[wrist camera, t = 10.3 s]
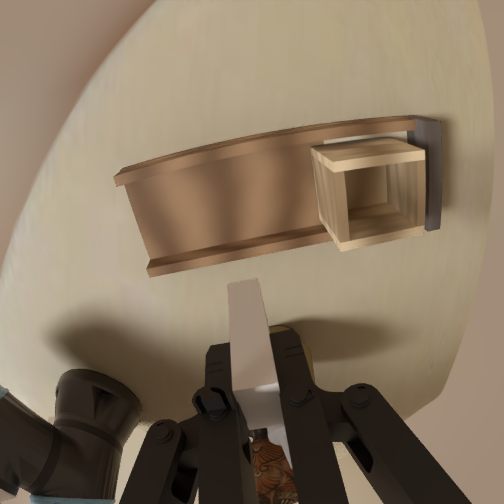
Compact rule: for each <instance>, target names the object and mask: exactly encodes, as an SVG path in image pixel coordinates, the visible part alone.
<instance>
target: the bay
mask: <svg viewBox="0 0 504 504" xmlns="http://www.w3.org/2000/svg"><path fill="white" fill-rule="evenodd" d="M386 136H387V137H390V138H393V139H396V140H399V141H402V142H405V143H407V144H410V145H413V146H415V147H418V148H421V149H423V150H425V172H426V198H425V228H424V229H425V230H427V231H432V230H437V229H440V222H441V203H442V140H441V121H438V120H434V119H429V118H425V117H420V116H415V115H408V116H393V117H380V118H369V119H359V120H349V121H341V122H332V123H325V124H317V125H310V126H304V127H297V128H291V129H285V130H279V131H273V132H268V133H262V134H257V135H252V136H247V137H242V138H237V139H232V140H228V141H223V142H219V143H214V144H210V145H206V146H201V147H197V148H193V149H189V150H185V151H181V152H177V153H174V154H170V155H166V156H163V157H159V158H155V159H152V160H148V161H145V162H141V163H138V164H135V165H131V166H128V167H125V168H123V169H121V170H120V172H119V173H117V174H116V175H115V176H114V180H115V184H116V187H118V186H121V185H125V188H126V191H127V195H128V198H129V201H130V204H131V207H132V210H133V213H134V215H135V218H136V221H137V224H138V227H139V230H140V233H141V235H142V238H143V241H144V244H145V246H146V249H147V252H148V254H149V257H150V262H149V264H148V266H147V269H146V270H147V272H148V275H149V277H155V276H160V275H165V274H170V273H175V272H180V271H185V270H190V269H195V268H200V267H205V266H210V265H215V264H220V263H225V262H230V261H235V260H240V259H245V258H250V257H255V256H260V255H264V254H269V253H274V252H279V251H284V250H289V249H294V248H299V247H304V246H309V245H314V244H318V243H323V242H328V241H333V239H332V237H331V236H330V234H329V233H328V231H327V229H326V228H325V226H324V225H323V223H322V222H321V220H320V218H319V210H318V201H317V193H316V186H315V178H314V171H313V164H312V157H311V150H310V146H316V145H323V144H329V143H337V142H344V141H351V140H359V139H368V138H376V137H386Z"/></svg>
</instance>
